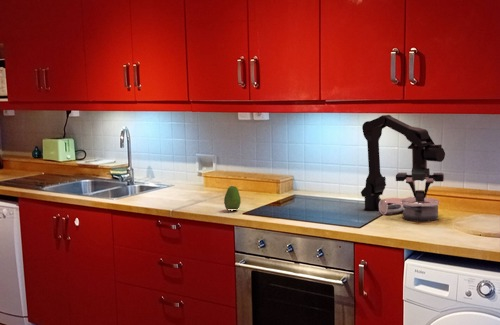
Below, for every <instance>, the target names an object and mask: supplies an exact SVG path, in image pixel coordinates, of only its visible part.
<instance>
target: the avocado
mask: <svg viewBox="0 0 500 325" xmlns="http://www.w3.org/2000/svg"><path fill="white" fill-rule="evenodd" d="M223 201H224V202H223V204H224V207H225V210H227V209H238V208H240V207H241V202H242V200H241V196H240V192H239V189H238V187H237V186H233V185H230V186H228V188H227V190H226V193H225V195H224V200H223ZM238 210H239V209H238Z"/></svg>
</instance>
